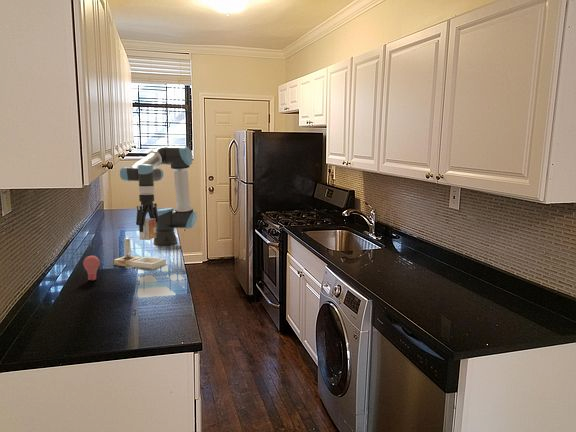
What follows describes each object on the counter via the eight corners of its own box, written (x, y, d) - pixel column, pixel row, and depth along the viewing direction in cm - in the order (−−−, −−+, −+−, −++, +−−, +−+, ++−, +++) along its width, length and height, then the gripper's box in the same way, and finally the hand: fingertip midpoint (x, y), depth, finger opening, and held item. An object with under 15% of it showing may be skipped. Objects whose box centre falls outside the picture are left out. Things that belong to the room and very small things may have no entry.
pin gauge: (127, 262, 241) (126, 237, 239) (132, 263, 240) (131, 238, 238) (123, 264, 238) (122, 238, 236) (128, 264, 237) (127, 239, 235)
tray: (146, 261, 243) (145, 256, 243) (166, 264, 239) (165, 258, 239) (131, 267, 232) (131, 261, 232) (152, 269, 228) (152, 264, 228)
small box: (149, 240, 229) (148, 220, 227) (139, 239, 230) (138, 220, 229) (156, 237, 237) (155, 218, 235) (147, 236, 238) (146, 217, 236)
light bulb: (93, 277, 213) (92, 253, 212) (103, 279, 210) (102, 255, 208) (81, 281, 207) (79, 256, 205) (91, 283, 204) (89, 258, 202)
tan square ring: (126, 260, 245) (126, 255, 245) (141, 262, 242) (141, 257, 242) (114, 264, 236) (114, 259, 236) (129, 266, 233) (129, 261, 232)
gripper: (153, 191, 241) (154, 232, 244) (127, 195, 221) (129, 239, 225) (164, 192, 239) (165, 233, 242) (139, 196, 219) (141, 240, 222)
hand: (148, 236), depth 233 cm, fingers closed on small box, 8 cm apart
